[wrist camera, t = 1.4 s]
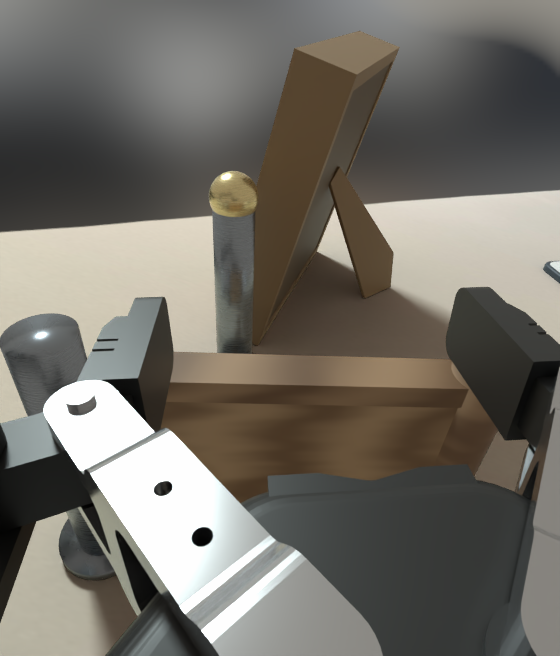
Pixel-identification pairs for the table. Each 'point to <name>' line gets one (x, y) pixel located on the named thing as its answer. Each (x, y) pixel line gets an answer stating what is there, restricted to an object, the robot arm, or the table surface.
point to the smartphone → (553, 269)
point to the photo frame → (318, 170)
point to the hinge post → (35, 389)
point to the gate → (322, 416)
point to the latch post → (234, 259)
